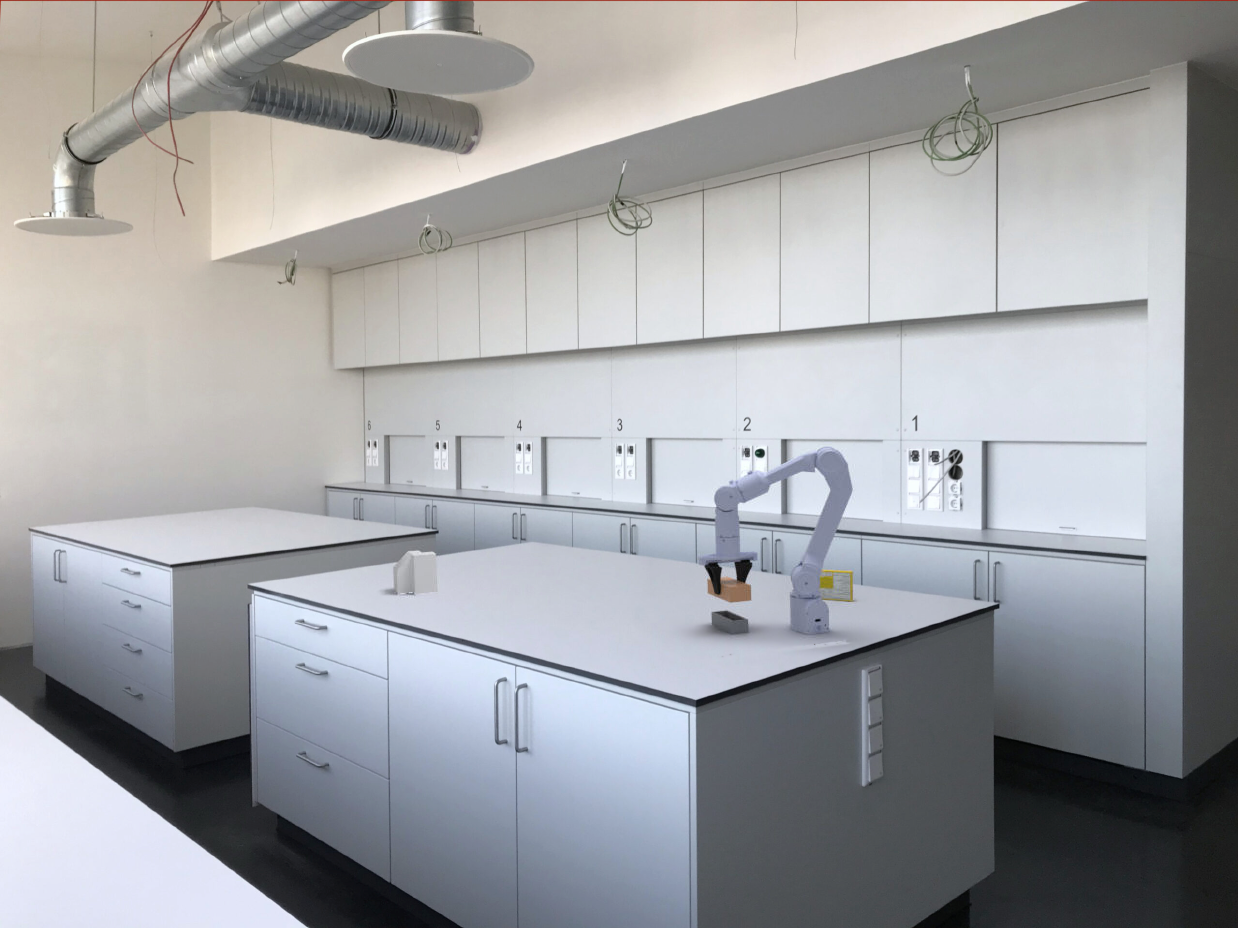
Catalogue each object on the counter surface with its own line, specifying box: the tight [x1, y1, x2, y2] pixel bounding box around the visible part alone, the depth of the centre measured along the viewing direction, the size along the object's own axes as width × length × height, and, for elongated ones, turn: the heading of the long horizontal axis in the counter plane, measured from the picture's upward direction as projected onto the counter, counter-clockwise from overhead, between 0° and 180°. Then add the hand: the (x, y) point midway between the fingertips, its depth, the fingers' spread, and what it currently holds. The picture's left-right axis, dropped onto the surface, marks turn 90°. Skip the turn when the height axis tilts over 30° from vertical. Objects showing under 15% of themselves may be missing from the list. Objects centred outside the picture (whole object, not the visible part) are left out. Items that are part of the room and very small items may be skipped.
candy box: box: [818, 568, 854, 603], centre depth 264 cm, size 16×2×8 cm, turn 59°
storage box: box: [711, 609, 749, 635], centre depth 228 cm, size 11×4×4 cm, turn 19°
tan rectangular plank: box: [707, 576, 752, 604], centre depth 228 cm, size 13×5×4 cm, turn 19°
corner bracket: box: [392, 550, 439, 595], centre depth 292 cm, size 11×11×12 cm
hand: (729, 592), depth 228 cm, fingers closed on tan rectangular plank, 5 cm apart
